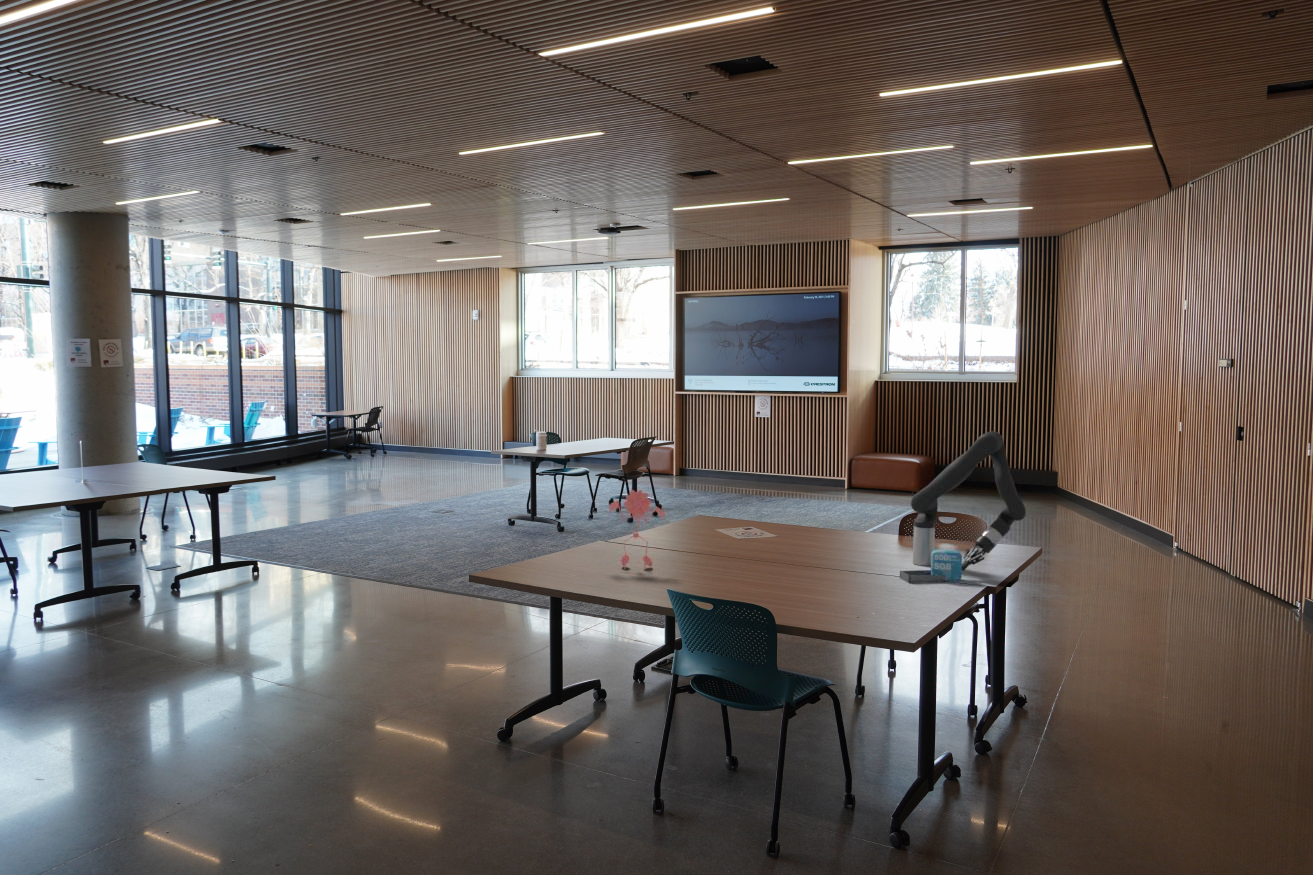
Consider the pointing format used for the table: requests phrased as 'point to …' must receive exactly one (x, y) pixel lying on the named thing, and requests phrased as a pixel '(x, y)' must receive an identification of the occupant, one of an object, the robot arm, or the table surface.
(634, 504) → the pink fuzzy puppet
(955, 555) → the data package
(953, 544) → the table surface
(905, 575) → the keeper bracket
